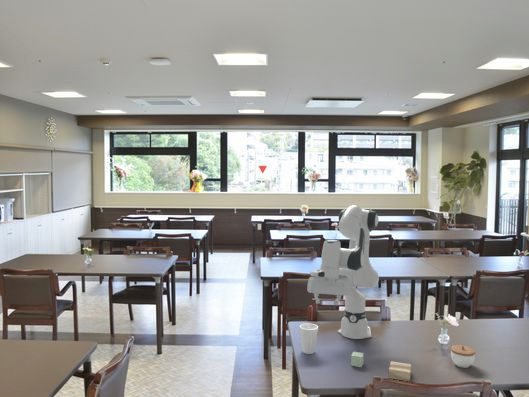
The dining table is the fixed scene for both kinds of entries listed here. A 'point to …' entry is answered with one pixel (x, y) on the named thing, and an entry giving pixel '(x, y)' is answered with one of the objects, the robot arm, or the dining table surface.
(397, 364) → the oak base
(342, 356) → the dining table surface
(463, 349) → the lidded jar
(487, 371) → the dining table surface
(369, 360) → the dining table surface
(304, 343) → the foam cup
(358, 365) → the green cube
